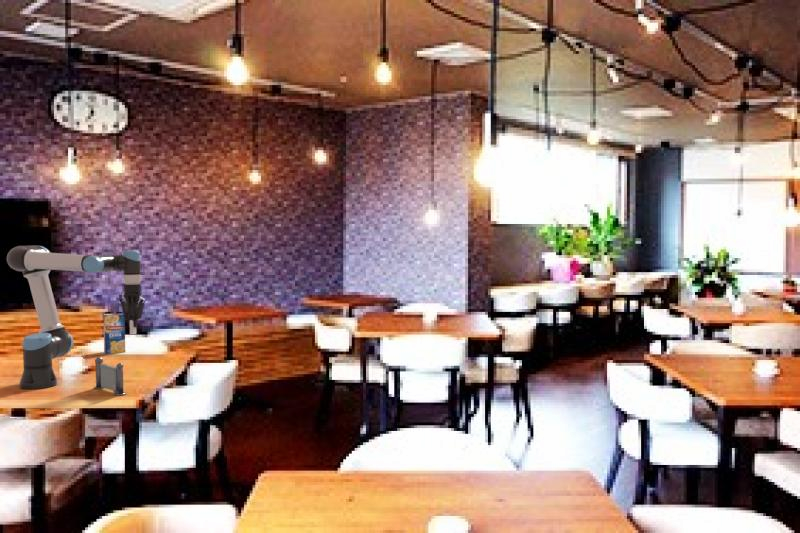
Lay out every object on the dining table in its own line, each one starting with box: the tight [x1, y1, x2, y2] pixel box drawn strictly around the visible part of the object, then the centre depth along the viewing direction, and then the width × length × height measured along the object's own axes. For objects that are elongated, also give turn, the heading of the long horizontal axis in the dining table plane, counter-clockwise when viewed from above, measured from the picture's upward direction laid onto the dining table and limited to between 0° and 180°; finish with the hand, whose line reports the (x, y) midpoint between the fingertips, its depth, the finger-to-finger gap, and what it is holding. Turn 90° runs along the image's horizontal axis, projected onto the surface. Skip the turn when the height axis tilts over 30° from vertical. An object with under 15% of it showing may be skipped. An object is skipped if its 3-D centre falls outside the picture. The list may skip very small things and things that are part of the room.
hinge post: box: [93, 356, 104, 390], centre depth 316 cm, size 5×5×14 cm
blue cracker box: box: [102, 312, 126, 355], centre depth 410 cm, size 7×11×22 cm, turn 118°
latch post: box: [112, 362, 128, 397], centre depth 305 cm, size 6×5×14 cm
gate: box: [100, 363, 118, 392], centre depth 310 cm, size 14×2×10 cm, turn 49°
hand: (133, 334), depth 330 cm, fingers closed
